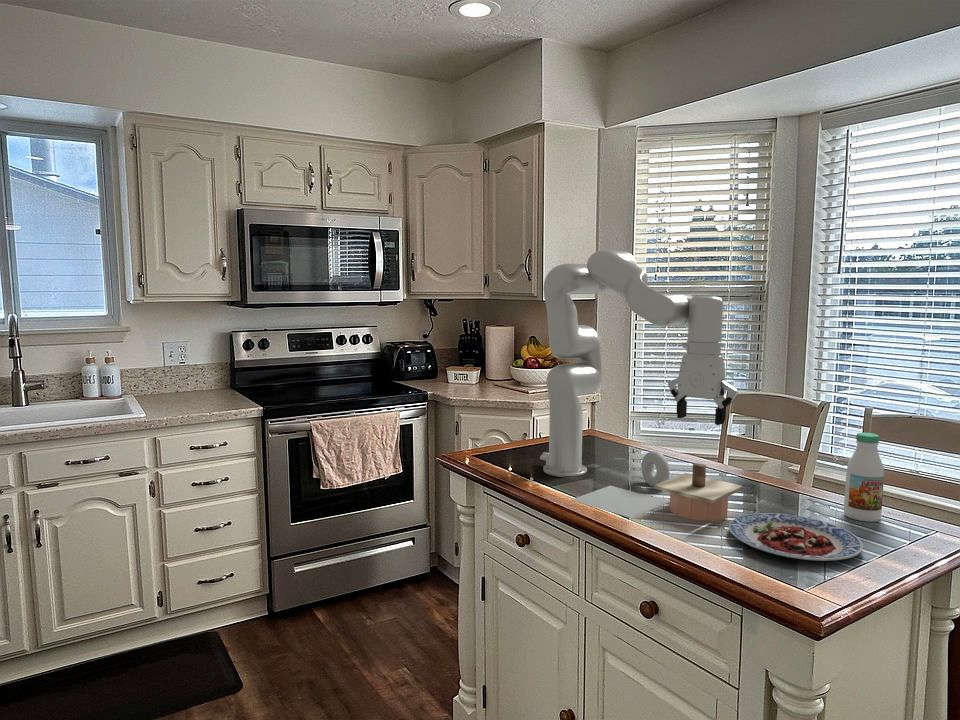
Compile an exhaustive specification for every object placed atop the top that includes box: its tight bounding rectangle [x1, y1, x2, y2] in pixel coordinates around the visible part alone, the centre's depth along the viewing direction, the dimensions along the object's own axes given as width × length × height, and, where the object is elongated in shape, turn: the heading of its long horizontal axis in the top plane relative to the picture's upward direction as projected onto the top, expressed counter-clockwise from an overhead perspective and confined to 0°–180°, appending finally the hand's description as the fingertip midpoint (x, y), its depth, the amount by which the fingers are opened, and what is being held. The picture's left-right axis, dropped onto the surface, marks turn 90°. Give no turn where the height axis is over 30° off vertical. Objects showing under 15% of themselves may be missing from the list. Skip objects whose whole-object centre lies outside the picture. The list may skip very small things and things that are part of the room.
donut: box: [640, 450, 670, 488], centre depth 179 cm, size 10×4×10 cm, turn 23°
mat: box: [571, 485, 670, 519], centre depth 167 cm, size 18×17×1 cm
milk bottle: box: [843, 432, 885, 523], centre depth 156 cm, size 8×8×20 cm
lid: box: [653, 462, 744, 503], centre depth 159 cm, size 15×15×6 cm
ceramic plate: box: [728, 512, 864, 562], centre depth 142 cm, size 26×26×3 cm
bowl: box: [669, 492, 729, 524], centre depth 159 cm, size 13×13×6 cm
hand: (700, 420), depth 158 cm, fingers open, 9 cm apart
